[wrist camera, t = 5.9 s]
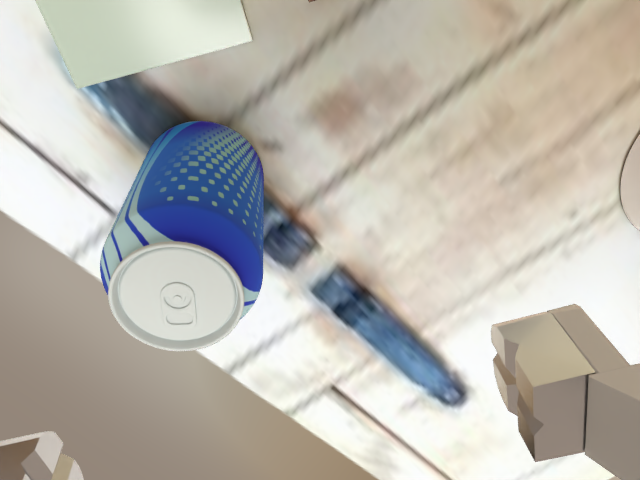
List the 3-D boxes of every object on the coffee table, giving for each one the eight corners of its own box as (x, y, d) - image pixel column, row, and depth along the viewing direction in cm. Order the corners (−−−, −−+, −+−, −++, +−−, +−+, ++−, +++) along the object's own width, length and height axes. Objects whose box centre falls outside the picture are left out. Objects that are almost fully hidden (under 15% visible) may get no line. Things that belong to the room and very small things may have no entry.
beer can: (124, 177, 41) (54, 312, 27) (192, 90, 38) (151, 192, 25) (218, 239, 44) (197, 388, 31) (286, 163, 42) (297, 289, 28)
